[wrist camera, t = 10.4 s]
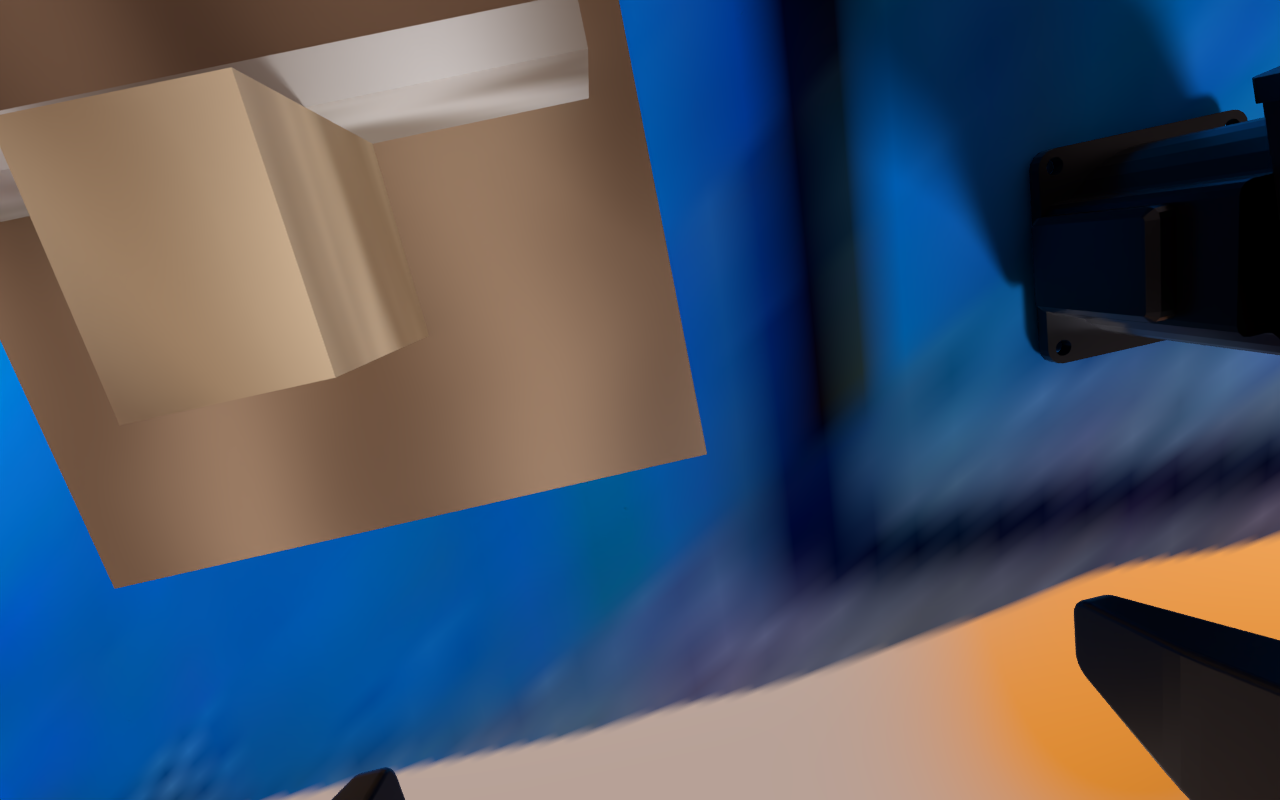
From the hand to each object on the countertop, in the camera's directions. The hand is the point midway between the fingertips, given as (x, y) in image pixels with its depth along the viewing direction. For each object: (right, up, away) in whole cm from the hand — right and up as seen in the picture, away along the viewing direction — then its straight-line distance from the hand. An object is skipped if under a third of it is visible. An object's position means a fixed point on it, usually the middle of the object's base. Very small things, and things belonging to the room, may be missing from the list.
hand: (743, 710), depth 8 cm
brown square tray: (-8, +9, +10) cm, 16 cm away
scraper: (-8, +7, +5) cm, 12 cm away
